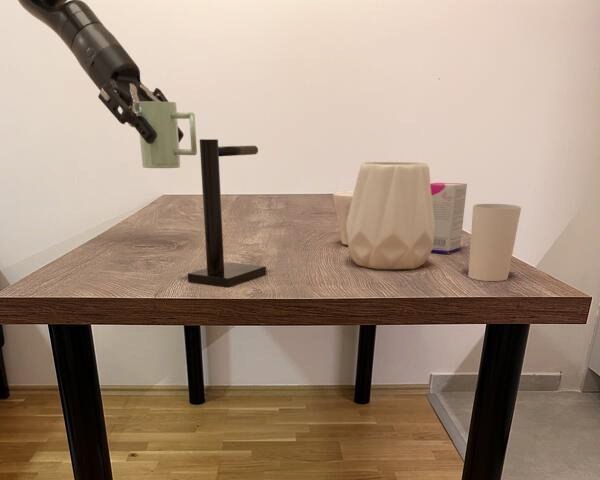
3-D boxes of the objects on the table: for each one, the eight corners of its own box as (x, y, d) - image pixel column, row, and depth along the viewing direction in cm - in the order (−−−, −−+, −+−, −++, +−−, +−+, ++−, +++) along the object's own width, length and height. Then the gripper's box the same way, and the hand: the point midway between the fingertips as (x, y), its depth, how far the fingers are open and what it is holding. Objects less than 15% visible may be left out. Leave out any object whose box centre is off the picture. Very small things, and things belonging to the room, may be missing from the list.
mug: (134, 167, 109) (128, 101, 105) (159, 166, 114) (153, 103, 110) (185, 169, 104) (181, 100, 100) (208, 167, 109) (205, 102, 105)
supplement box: (460, 250, 116) (468, 182, 111) (448, 254, 111) (455, 184, 106) (431, 247, 119) (437, 181, 114) (418, 251, 114) (423, 183, 109)
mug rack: (228, 287, 88) (222, 139, 80) (188, 282, 91) (177, 139, 83) (278, 270, 99) (276, 138, 91) (240, 266, 102) (235, 138, 94)
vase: (326, 262, 104) (329, 162, 98) (384, 253, 113) (390, 160, 106) (392, 276, 95) (399, 166, 88) (449, 264, 103) (460, 163, 97)
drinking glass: (467, 280, 92) (475, 208, 88) (463, 271, 98) (470, 203, 94) (514, 282, 91) (525, 209, 87) (507, 273, 97) (517, 204, 93)
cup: (359, 251, 114) (362, 196, 110) (321, 244, 121) (321, 192, 117) (395, 245, 120) (399, 193, 116) (356, 239, 127) (358, 189, 123)
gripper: (125, 83, 115) (182, 155, 116) (64, 77, 104) (127, 157, 104) (145, 47, 111) (204, 123, 111) (83, 37, 100) (149, 121, 100)
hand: (166, 139), depth 108 cm, fingers closed on mug, 6 cm apart
